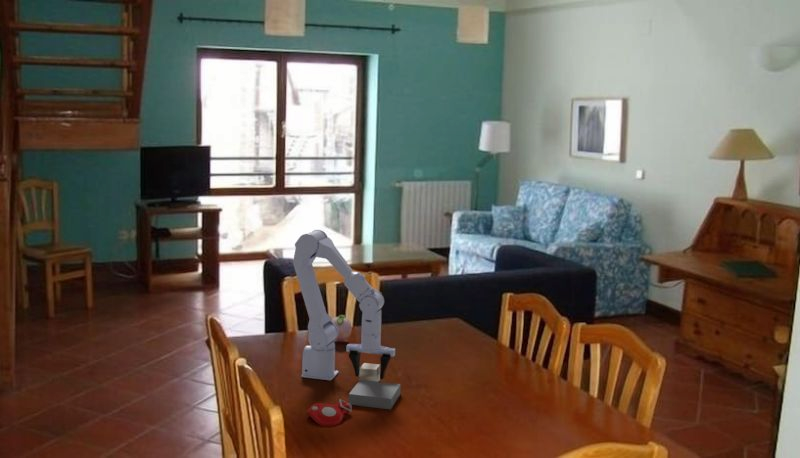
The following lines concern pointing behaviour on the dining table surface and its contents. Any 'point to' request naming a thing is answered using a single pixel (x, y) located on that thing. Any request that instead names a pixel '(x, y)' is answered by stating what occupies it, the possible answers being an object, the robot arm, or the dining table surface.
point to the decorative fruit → (342, 327)
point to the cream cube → (370, 372)
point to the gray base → (374, 394)
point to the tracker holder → (329, 413)
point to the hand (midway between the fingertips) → (369, 376)
